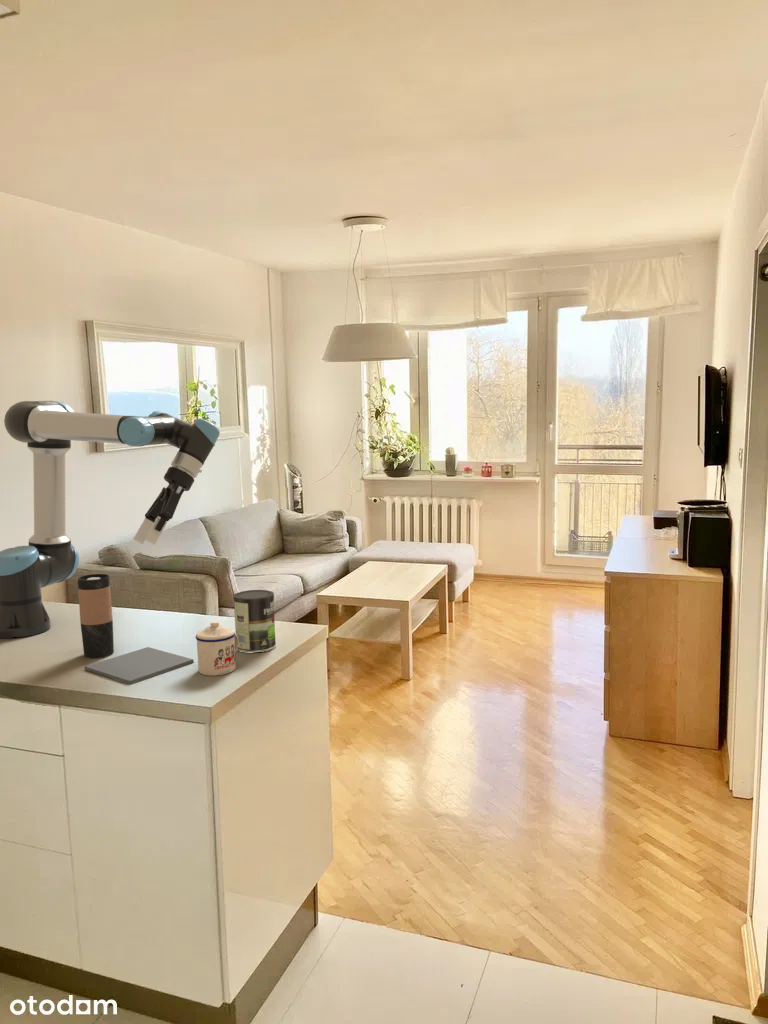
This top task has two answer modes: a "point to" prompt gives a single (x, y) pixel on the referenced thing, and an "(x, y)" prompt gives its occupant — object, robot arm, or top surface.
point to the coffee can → (255, 620)
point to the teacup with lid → (216, 650)
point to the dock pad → (139, 665)
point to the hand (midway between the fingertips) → (143, 541)
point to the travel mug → (96, 615)
